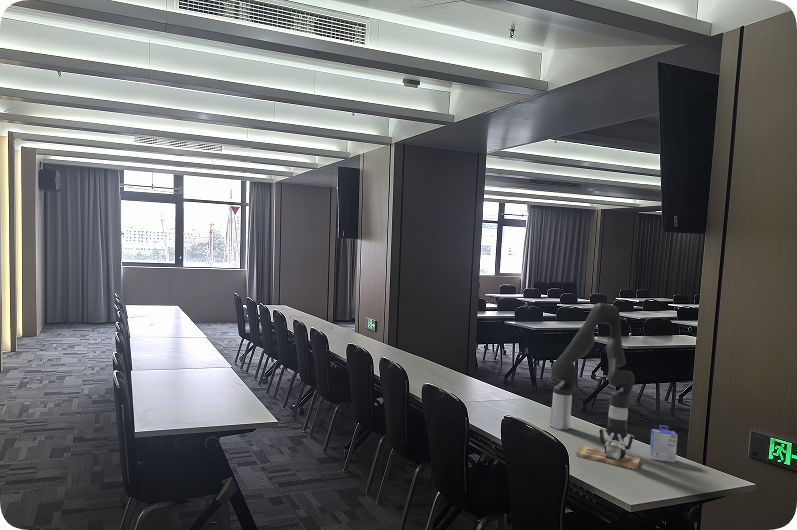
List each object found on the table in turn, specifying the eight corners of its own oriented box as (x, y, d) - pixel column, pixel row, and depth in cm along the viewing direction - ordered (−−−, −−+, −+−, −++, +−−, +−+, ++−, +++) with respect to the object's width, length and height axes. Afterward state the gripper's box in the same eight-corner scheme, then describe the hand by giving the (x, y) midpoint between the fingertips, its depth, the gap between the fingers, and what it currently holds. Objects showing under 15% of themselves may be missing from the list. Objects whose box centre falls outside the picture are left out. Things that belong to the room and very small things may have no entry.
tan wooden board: (576, 455, 237) (576, 452, 236) (581, 448, 247) (582, 445, 247) (636, 470, 225) (636, 466, 225) (639, 461, 235) (640, 458, 235)
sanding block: (605, 457, 232) (606, 447, 232) (611, 452, 240) (612, 442, 240) (617, 461, 229) (618, 450, 229) (623, 455, 237) (624, 445, 237)
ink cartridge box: (672, 458, 243) (675, 426, 242) (676, 463, 237) (679, 429, 237) (648, 455, 244) (651, 423, 244) (651, 459, 239) (654, 426, 239)
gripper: (637, 418, 234) (633, 457, 234) (601, 411, 241) (598, 449, 241) (635, 422, 227) (631, 462, 228) (598, 415, 235) (595, 454, 235)
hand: (614, 456), depth 234 cm, fingers closed on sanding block, 5 cm apart
